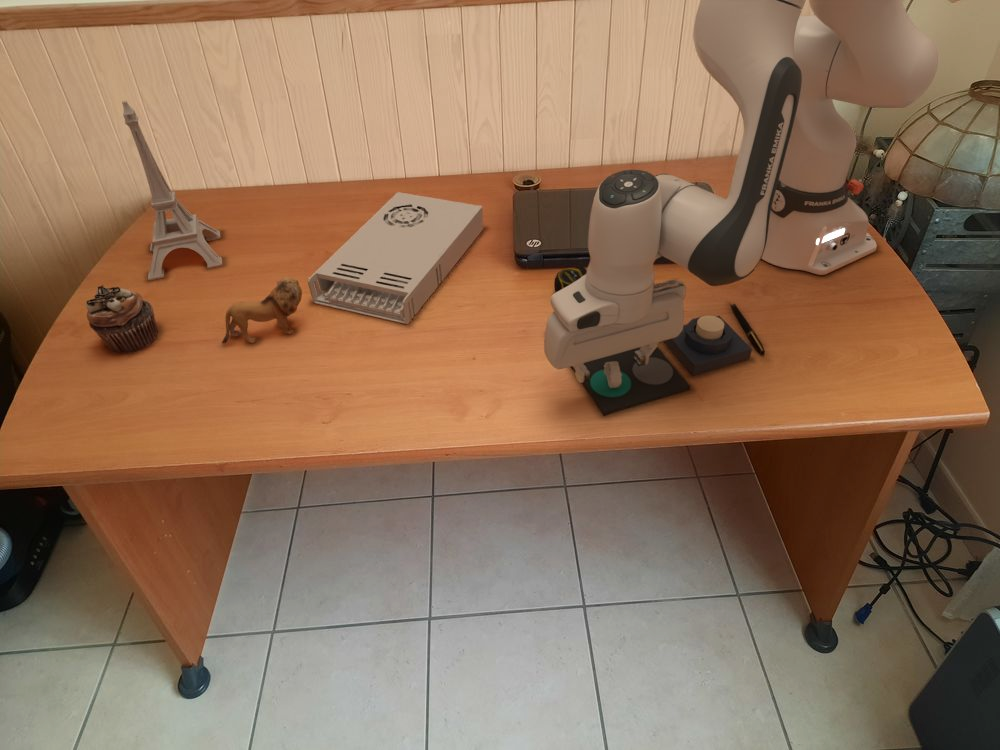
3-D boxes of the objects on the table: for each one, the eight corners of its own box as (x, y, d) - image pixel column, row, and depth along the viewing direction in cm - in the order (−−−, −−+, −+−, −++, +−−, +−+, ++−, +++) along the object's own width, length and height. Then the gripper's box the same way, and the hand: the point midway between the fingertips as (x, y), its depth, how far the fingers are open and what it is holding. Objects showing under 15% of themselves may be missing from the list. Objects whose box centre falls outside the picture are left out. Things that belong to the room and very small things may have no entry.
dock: (716, 326, 113) (721, 306, 111) (749, 359, 107) (754, 339, 104) (662, 341, 111) (665, 321, 108) (692, 376, 105) (696, 356, 102)
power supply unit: (313, 303, 123) (306, 279, 119) (400, 213, 145) (397, 191, 141) (408, 325, 117) (404, 301, 114) (484, 228, 139) (482, 205, 136)
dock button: (713, 321, 109) (714, 312, 107) (727, 336, 106) (729, 327, 105) (690, 327, 108) (692, 318, 106) (704, 343, 105) (706, 334, 104)
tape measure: (599, 300, 120) (601, 282, 117) (562, 309, 118) (563, 291, 116) (584, 279, 125) (585, 261, 122) (548, 287, 123) (548, 269, 121)
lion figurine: (306, 311, 121) (293, 267, 115) (314, 327, 117) (301, 283, 111) (220, 337, 117) (202, 293, 110) (225, 355, 113) (208, 311, 107)
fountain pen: (725, 303, 118) (727, 296, 117) (732, 302, 118) (734, 295, 117) (759, 358, 107) (761, 350, 106) (766, 357, 107) (769, 350, 106)
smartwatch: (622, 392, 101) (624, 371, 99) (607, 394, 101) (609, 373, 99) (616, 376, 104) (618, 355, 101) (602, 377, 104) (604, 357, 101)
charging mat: (626, 314, 117) (626, 309, 116) (689, 390, 103) (690, 385, 102) (549, 334, 114) (549, 329, 113) (603, 415, 99) (604, 410, 99)
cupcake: (157, 352, 114) (133, 303, 108) (96, 360, 113) (68, 311, 107) (168, 317, 121) (146, 269, 115) (110, 324, 120) (85, 276, 114)
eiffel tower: (220, 232, 142) (167, 82, 122) (222, 265, 133) (165, 109, 113) (151, 245, 140) (85, 94, 119) (148, 280, 130) (76, 123, 110)
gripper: (675, 264, 97) (663, 340, 106) (539, 298, 92) (539, 375, 102) (700, 288, 92) (685, 366, 102) (558, 325, 88) (556, 403, 97)
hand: (611, 371), depth 102 cm, fingers open, 8 cm apart
